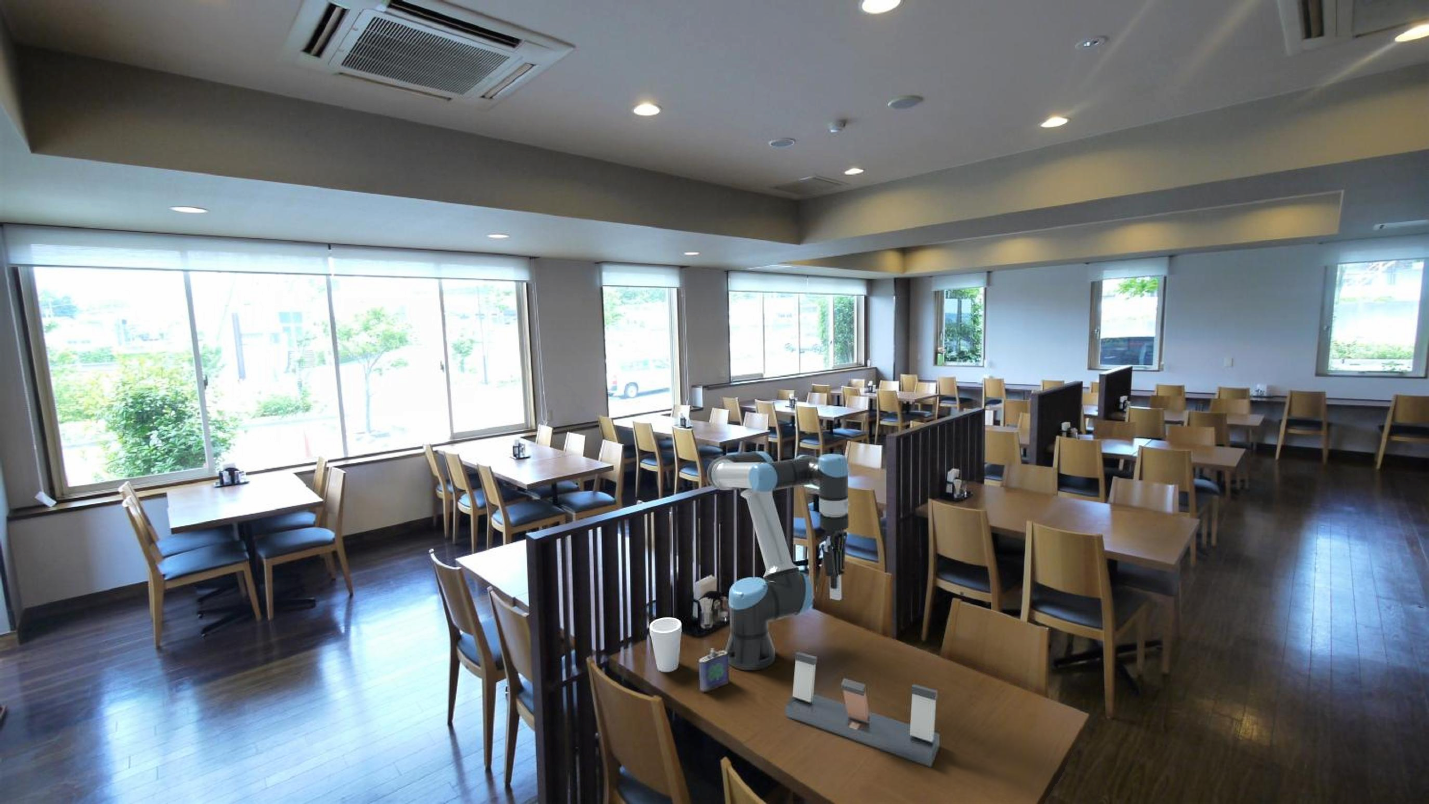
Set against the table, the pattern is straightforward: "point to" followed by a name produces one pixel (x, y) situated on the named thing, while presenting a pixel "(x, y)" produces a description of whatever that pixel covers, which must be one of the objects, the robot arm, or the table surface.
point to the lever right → (923, 712)
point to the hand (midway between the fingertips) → (835, 598)
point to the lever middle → (855, 700)
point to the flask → (713, 670)
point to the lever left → (804, 676)
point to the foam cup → (666, 643)
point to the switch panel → (864, 728)
